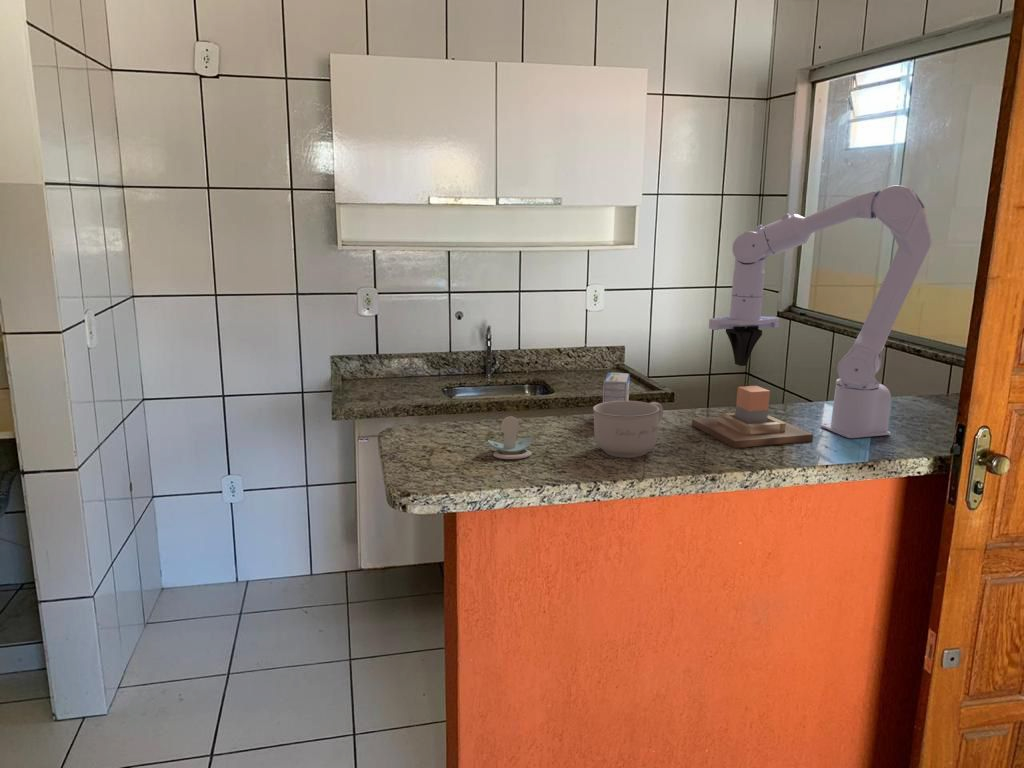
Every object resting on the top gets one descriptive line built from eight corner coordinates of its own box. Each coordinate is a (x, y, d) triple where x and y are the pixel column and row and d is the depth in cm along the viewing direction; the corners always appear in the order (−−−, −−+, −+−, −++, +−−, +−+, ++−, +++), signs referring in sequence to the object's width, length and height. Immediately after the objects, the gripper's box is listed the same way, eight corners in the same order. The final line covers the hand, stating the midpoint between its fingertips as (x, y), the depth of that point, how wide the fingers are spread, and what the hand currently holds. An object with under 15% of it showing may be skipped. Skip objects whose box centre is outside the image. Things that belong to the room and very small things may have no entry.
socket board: (764, 419, 148) (765, 405, 147) (812, 440, 135) (814, 426, 134) (691, 425, 143) (692, 411, 142) (734, 448, 130) (736, 432, 130)
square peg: (753, 422, 141) (756, 385, 140) (766, 428, 138) (770, 390, 136) (734, 423, 140) (737, 386, 139) (747, 429, 137) (751, 392, 135)
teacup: (615, 467, 120) (618, 418, 118) (578, 447, 129) (580, 401, 127) (685, 455, 126) (688, 408, 124) (645, 437, 135) (647, 393, 133)
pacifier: (537, 460, 123) (527, 447, 128) (539, 423, 121) (528, 412, 127) (493, 463, 121) (484, 450, 127) (494, 426, 119) (485, 414, 125)
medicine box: (625, 428, 141) (628, 382, 139) (601, 426, 141) (603, 380, 139) (627, 416, 148) (630, 373, 146) (604, 414, 149) (607, 371, 147)
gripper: (766, 292, 152) (759, 359, 155) (702, 293, 148) (697, 362, 151) (789, 296, 145) (781, 366, 149) (723, 298, 141) (717, 369, 144)
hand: (740, 364), depth 149 cm, fingers closed
